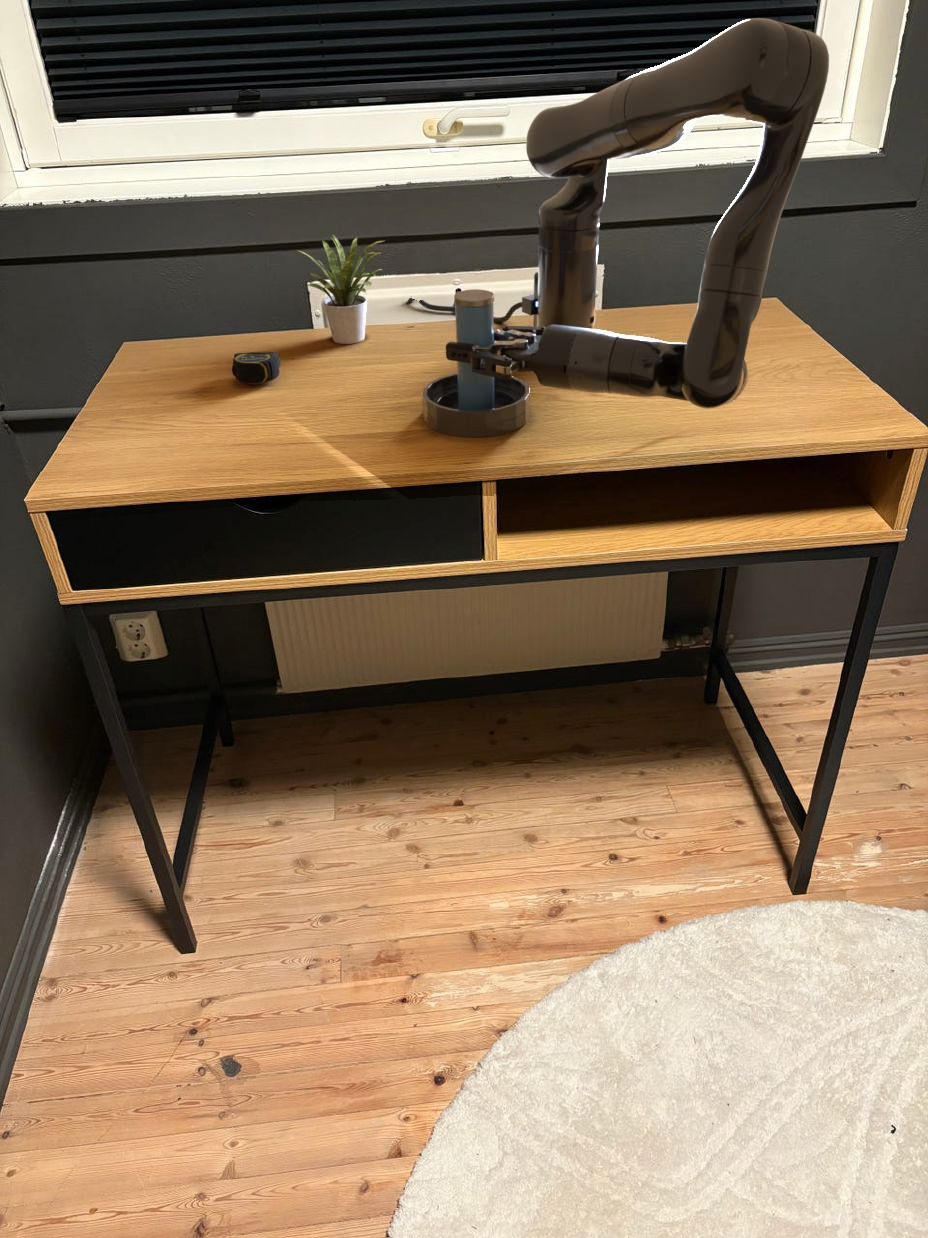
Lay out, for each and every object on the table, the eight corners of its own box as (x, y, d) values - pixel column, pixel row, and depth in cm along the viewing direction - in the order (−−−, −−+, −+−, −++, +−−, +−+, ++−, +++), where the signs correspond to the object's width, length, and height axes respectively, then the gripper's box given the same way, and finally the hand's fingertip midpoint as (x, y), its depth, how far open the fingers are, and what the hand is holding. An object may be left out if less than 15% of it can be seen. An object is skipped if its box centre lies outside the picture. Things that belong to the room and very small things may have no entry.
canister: (450, 414, 127) (446, 294, 118) (480, 405, 129) (478, 286, 120) (472, 426, 124) (469, 303, 114) (502, 416, 126) (502, 295, 117)
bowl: (404, 415, 128) (402, 387, 126) (487, 390, 135) (487, 363, 132) (464, 450, 119) (463, 421, 116) (551, 422, 125) (551, 393, 123)
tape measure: (282, 371, 144) (279, 347, 141) (278, 387, 138) (275, 362, 136) (237, 373, 143) (233, 349, 141) (231, 390, 138) (227, 365, 135)
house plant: (416, 333, 156) (410, 229, 147) (365, 358, 147) (356, 249, 138) (348, 320, 163) (339, 220, 153) (296, 344, 153) (282, 239, 144)
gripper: (600, 312, 119) (477, 298, 125) (562, 348, 108) (430, 331, 114) (597, 369, 123) (478, 354, 129) (560, 409, 113) (433, 390, 119)
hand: (456, 343), depth 122 cm, fingers closed on canister, 5 cm apart
